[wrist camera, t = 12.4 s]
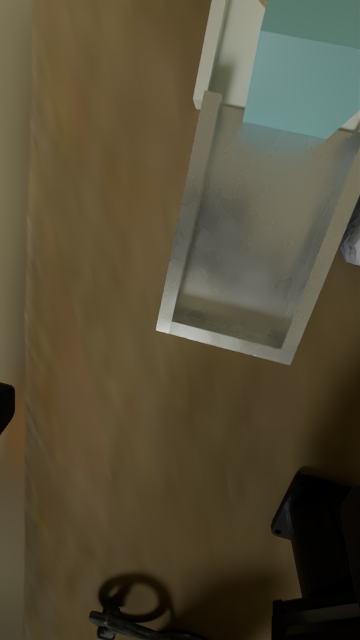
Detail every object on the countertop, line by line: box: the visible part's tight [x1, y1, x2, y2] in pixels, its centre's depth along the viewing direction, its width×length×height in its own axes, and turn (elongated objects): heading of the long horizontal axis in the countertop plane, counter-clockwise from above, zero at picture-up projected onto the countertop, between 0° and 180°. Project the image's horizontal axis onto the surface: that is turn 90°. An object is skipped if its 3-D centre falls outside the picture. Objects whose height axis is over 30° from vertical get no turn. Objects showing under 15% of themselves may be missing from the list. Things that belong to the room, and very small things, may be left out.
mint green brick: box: [243, 0, 360, 139], centre depth 10 cm, size 4×4×7 cm
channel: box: [156, 90, 360, 365], centre depth 16 cm, size 12×8×2 cm
